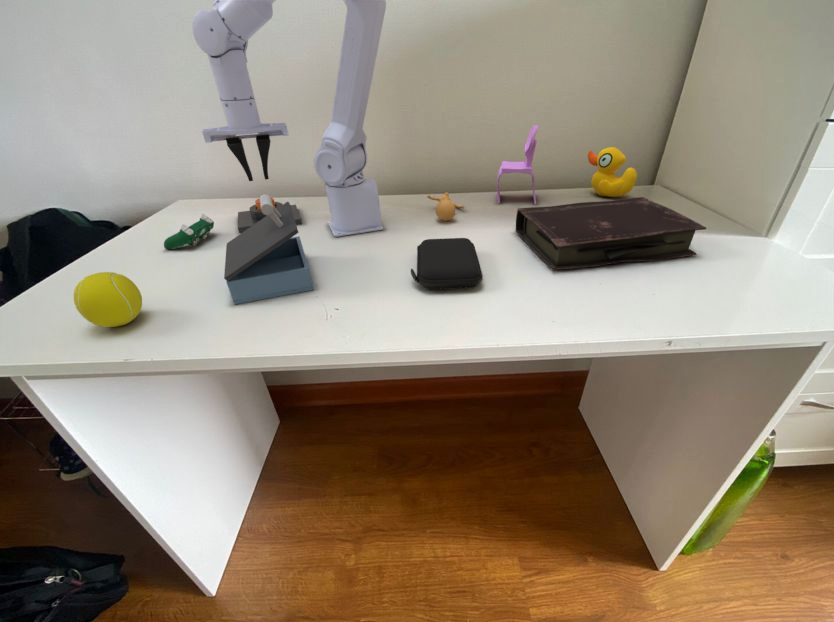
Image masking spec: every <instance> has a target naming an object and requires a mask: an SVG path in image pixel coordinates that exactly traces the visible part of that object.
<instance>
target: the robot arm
mask: <svg viewBox="0 0 834 622" xmlns="http://www.w3.org/2000/svg"><path fill="white" fill-rule="evenodd" d="M276 1H277V0H214V2H212V6H213V7H212V9H211V10H208V9H206V10H205V9H199V10H197V11H196V13H195V15H194V16H193V19H192V25H191V28H192V36H193V38H194V40H195V42H196V45H198V47H199V48H200V50H201V51H202V52H203V53H205V54H206V55H207V59H208V61H209V66H210V69H211V72H212V76H213V79H214V82H215V85H216V90H217V93H218V96H219V100H220V103H221V107H222V110H223V114H224V118H225V121H226V125H227V126H219V127H212V128H202V131H201V133H202V136H203V139H204V142H205V143H206V144H207V143H213V142H222V141H226V146H227V148H228V149H229V150H230V152H231V153H232V154H233V155H234V157H235V158H236V159H237V161H238V162H239V164H240V166H241V167H242V169H243V171H244V172H245V175H246V178H247V179H248V181H249V182H254V178H253V174H252V170H251V168H250V165H249V162H248V159H247V155H246V152H245V148H244V144H243V140H244V139H255V141H256V145H257V150H258V153H259V157H260V162H261V165H262V166H261V167H262V172H263V173H262V174H263V177H264V180H269V179H270V178H269V172H268V171H269V169H268V163H269V154H270V147H271V138H270V137H278V136H279V137H280V136H282V137H287V136H289V130H288V126H287V123H286V122H271V123H270V122H269V123H262V122H261V118H260V113H259V110H258V106H257V102H256V98H255V94H254V90H253V86H252V82H251V76H250V73H249V68H248V65H247V64H248V57H247V50H248V46H249V40H250V39H251V38H252V37H254V35H256V33H258V31H259V30H261V29H262V28H263V27H264V26H265V25H266V24H267V23H268V22H269V21H270V20H271V19H272V18H273V15H274V14H273V12H274V11H273V9H274V8H273V4H274V3H275V2H276ZM342 1H343V2H344V5H345V6H346V16H345V22H344V29H343V35H342V42H341V48H340V55H339V62H338V63H339V64H338V71H337V76H336V77H337V78H336V84H335V92H334V98H333V105H332V111H331V119H330V122H329V125H328V127H327V128H326V130H325V131H324V133H323V135H322V138H321V144H320V146H319V149H318V150H317V151H316V152H315V154H314V159H313V165H314V166H313V167H314V169H315V172H316V174H317V176H318V178H319V179H320V180H322V181H323V183H324V186H325V190H326V196H327V202H328V207H329V213H330V214H329V215H330V220H329V221H327V224H328V226H329V229H330V231H331V232H332V235H333V236H334V237H335V238H337V237H345V236H351V235H357V234H358V235H359V234H365V233H370V232H377V231H382V230H383V229H384V227H383V225H382V224H383V223H382V215H381V214H382V213H381V205H380V204H381V203H380V195H379V190H378V185H377V183H376V180H375V179H374V178H373V177H370V178H366V177H365V176H364V169H365V168H366V166H367V162H368V153H367V149H366V144H367V138H368V137H367V134H366V133H365V131H364V129H363V128H364V122H365V118H366V113H367V107H368V103H369V97H370V91H371V86H372V82H373V77H374V71H375V66H376V61H377V55H378V51H379V50H378V49H379V45H380V39H381V35H382V29H383V24H384V20H385V15H386V9H387V0H342Z"/></svg>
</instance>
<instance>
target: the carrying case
mask: <svg viewBox="0 0 834 622" xmlns="http://www.w3.org/2000/svg"><path fill="white" fill-rule="evenodd" d="M410 275H411V277H412V279H413V280H414V282H416V283H417V284H420V285H421V286H422V287H423V288H424V289H426V290H431V291H432V290H433V291H436V290H461V289H473V288H476V287H478V285H480V284H481V282H482V281H483V277H484V276H483V271H482V268H481V264H480V262H479V257H478V253H477V249H476V247H475V244H474V242H472V241H471V239H469V238H467V237H451V238H449V237H446V238H427V239H424V240H422V242H421V243H420V244H418V245H417V247H416V272H415V270H414V268H411V269H410Z"/></svg>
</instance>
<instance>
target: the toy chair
mask: <svg viewBox="0 0 834 622" xmlns="http://www.w3.org/2000/svg"><path fill="white" fill-rule="evenodd" d="M538 130H539V125H537V124H533V125H532V126H531V128H530V129H529V132H528V136H527V139H526V141H525V145H524V155H525V161H505V160H502V161H501V166H500V167H499V168H498V172H497V180H496V198H497V205H500V204H501V192H500V184H499V183H500V180H501V176H502V175H504V174H517V173H518V174H526V175H530V176H531V184H532V196H533V203H534V205H537V197H536V188H535V187H536V186H535V173H534V170H533V169H534V168H533V160H534V155H535V152H536V151H535V150H536V147H537V144H538V143H537V141H538V140H537V139H535V138H536V135H537V132H538Z"/></svg>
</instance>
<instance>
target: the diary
mask: <svg viewBox="0 0 834 622" xmlns="http://www.w3.org/2000/svg"><path fill="white" fill-rule="evenodd" d="M706 229H707V227H706V226H705V225H702V224H701V223H699V222H697V221H695V220H693V219H691V218H690V217H688V216H686V215H684V214H681V213H680V212H677V211H676V210H674V209H672V208H669V207H668V206H665V205H662V204H660V203H658V202H654V201H653V200H651V199H650V200H649V199H648V198H647V197H644V196H639V197H631V198H623V199H614V200H603V201H602V200H601V201H588V202H587V201H586V202H585V201H584V202H575V203H566V204H559V205H550V206H531V207H518V208H517V211H516V216H515V233H516V234H517V235H518V236H519V237H520V238H521V239H522V240H523V241H524V242H525V243H526V244H527V245H528V246H529V247H530V249H532V251H533V252H534V253H535V254H536V255H537V256H538V257H539V258H540V259H541V260H542V261H543V262H545V264H547V265H548V266H549V267H550V268H553V269H556V270H567V269H568V270H569V269H582V268H593V267H594V268H595V267H598V266H599V267H600V266H605V265H613V264H618V263H624V262H625V263H626V262H660V261H666V260H673V259H678V258H684V257H685V258H686V257H691V256H697V255H698V254H697V252H695V251H694V250H692V249H691V248H690V247H691V244H692V241H693V239H694V236H695V234H696V231H703V230H704V231H705V230H706Z"/></svg>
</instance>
